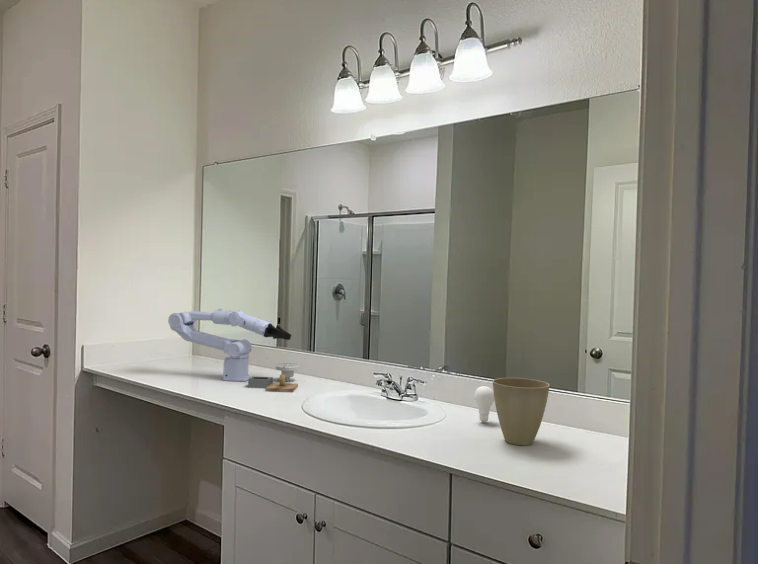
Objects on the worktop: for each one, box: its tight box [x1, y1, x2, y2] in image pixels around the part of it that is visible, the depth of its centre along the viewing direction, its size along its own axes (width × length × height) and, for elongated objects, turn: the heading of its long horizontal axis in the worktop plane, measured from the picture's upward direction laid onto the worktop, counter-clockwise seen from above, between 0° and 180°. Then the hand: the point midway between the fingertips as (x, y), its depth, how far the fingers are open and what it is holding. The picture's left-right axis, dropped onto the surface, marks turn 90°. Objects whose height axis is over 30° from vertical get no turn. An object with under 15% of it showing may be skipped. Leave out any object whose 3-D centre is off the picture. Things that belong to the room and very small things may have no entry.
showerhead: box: [275, 362, 300, 383], centre depth 224 cm, size 9×7×10 cm
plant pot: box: [492, 377, 550, 446], centre depth 150 cm, size 15×15×16 cm
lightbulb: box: [473, 385, 495, 424], centre depth 169 cm, size 6×6×11 cm
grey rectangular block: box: [247, 375, 274, 389], centre depth 213 cm, size 8×6×3 cm
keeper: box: [265, 374, 299, 393], centre depth 209 cm, size 10×10×5 cm
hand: (287, 336), depth 221 cm, fingers open, 7 cm apart
